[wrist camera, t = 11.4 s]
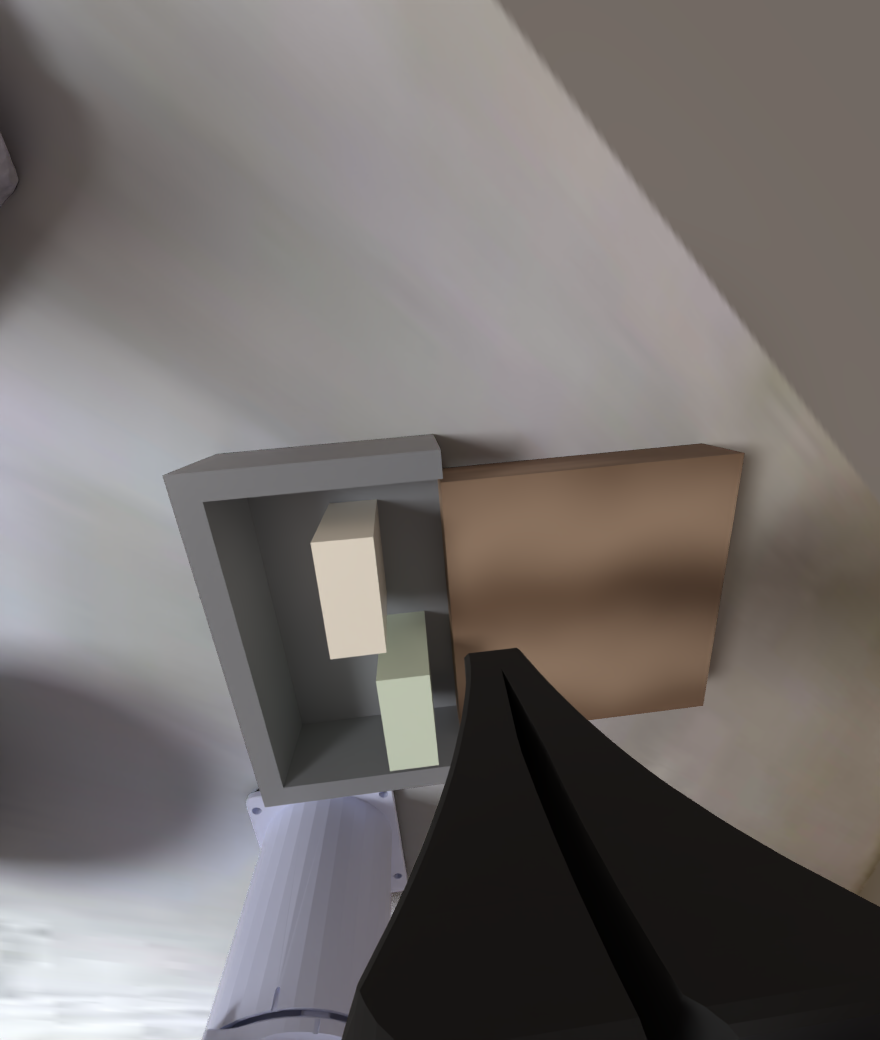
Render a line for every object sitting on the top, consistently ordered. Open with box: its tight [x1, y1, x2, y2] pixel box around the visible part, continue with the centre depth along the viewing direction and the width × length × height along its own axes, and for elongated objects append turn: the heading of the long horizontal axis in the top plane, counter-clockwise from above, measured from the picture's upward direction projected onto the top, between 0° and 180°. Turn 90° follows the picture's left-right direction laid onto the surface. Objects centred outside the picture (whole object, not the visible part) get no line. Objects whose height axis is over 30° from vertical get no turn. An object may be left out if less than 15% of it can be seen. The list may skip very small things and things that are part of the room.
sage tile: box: [376, 611, 439, 771], centre depth 18 cm, size 4×4×2 cm
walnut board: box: [438, 444, 744, 725], centre depth 19 cm, size 12×12×2 cm
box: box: [162, 434, 460, 807], centre depth 18 cm, size 15×9×4 cm, turn 5°
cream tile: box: [311, 499, 387, 659], centre depth 16 cm, size 4×4×2 cm
